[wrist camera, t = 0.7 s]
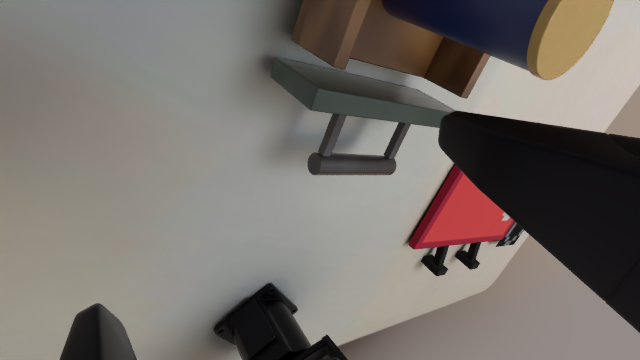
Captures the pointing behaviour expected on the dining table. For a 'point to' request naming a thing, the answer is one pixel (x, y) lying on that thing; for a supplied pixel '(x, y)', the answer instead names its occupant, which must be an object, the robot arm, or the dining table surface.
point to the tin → (513, 28)
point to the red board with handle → (462, 223)
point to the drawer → (364, 93)
